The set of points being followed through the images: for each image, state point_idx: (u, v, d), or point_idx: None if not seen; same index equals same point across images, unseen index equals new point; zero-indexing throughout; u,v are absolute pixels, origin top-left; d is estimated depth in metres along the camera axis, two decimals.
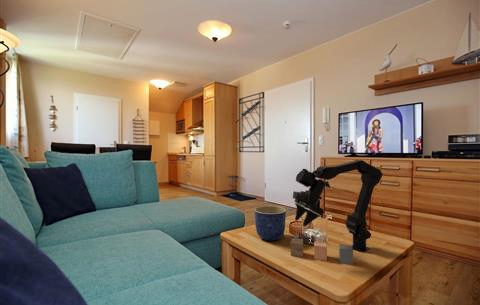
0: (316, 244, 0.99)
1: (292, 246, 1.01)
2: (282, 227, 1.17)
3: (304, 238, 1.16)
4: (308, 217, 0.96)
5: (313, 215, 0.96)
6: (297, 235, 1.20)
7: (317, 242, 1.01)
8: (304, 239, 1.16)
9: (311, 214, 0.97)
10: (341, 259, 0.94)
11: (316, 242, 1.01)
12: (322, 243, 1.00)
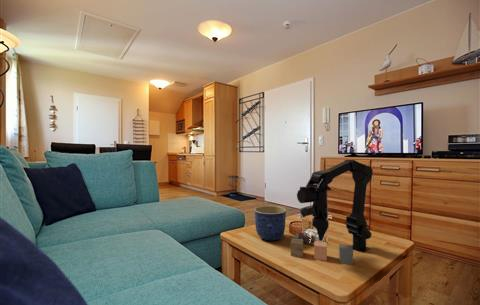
0: (316, 244, 0.99)
1: (292, 246, 1.01)
2: (282, 227, 1.17)
3: (304, 238, 1.16)
4: (319, 231, 0.94)
5: (323, 227, 0.93)
6: (297, 235, 1.21)
7: (317, 242, 1.01)
8: (304, 239, 1.16)
9: (320, 227, 0.94)
10: (341, 259, 0.94)
11: (316, 242, 1.01)
12: (322, 243, 1.00)
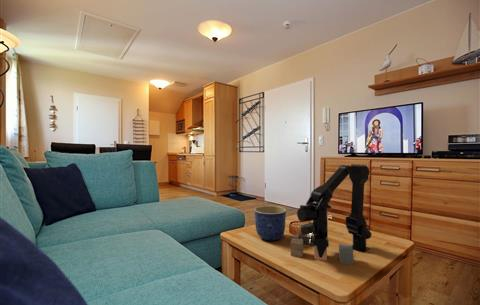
0: None
1: (292, 246, 1.01)
2: (282, 227, 1.17)
3: (304, 238, 1.16)
4: (319, 248, 0.96)
5: None
6: (297, 235, 1.21)
7: None
8: (304, 239, 1.16)
9: None
10: (341, 259, 0.94)
11: None
12: None
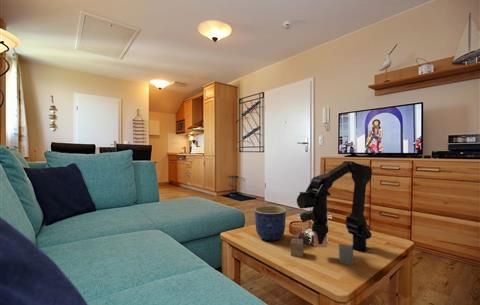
0: None
1: (292, 246, 1.01)
2: (282, 227, 1.17)
3: (304, 238, 1.16)
4: (319, 235, 0.96)
5: None
6: (297, 235, 1.21)
7: None
8: (304, 239, 1.16)
9: (320, 231, 0.96)
10: (341, 259, 0.94)
11: None
12: None
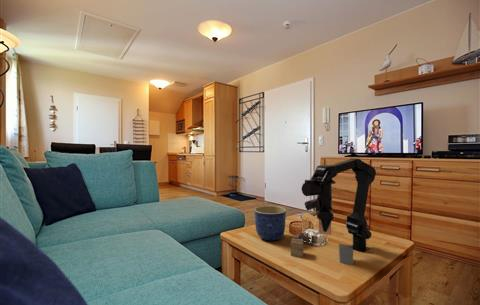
0: None
1: (292, 246, 1.01)
2: (282, 227, 1.17)
3: (304, 238, 1.16)
4: (323, 223, 0.96)
5: (327, 219, 0.96)
6: (298, 235, 1.21)
7: None
8: (304, 239, 1.16)
9: (325, 219, 0.96)
10: (341, 259, 0.94)
11: None
12: None
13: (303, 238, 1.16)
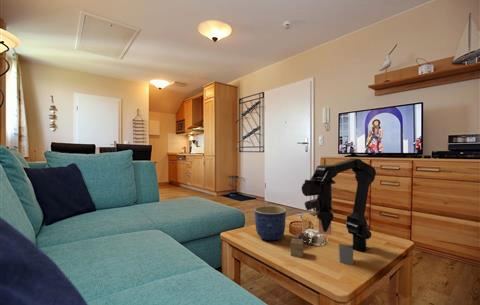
0: None
1: (292, 246, 1.01)
2: (282, 227, 1.17)
3: (304, 238, 1.16)
4: (323, 222, 0.96)
5: (327, 219, 0.96)
6: (298, 234, 1.21)
7: None
8: (304, 239, 1.16)
9: (325, 219, 0.96)
10: (341, 259, 0.94)
11: None
12: None
13: (303, 238, 1.16)
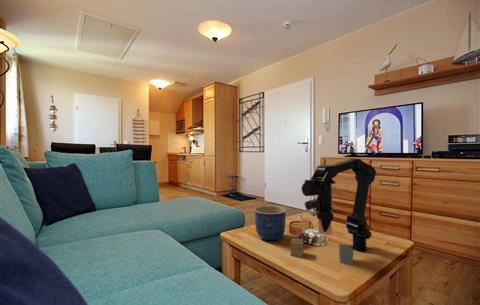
0: None
1: (292, 246, 1.01)
2: (282, 227, 1.17)
3: (304, 238, 1.16)
4: (323, 222, 0.96)
5: (327, 219, 0.96)
6: (298, 234, 1.21)
7: None
8: (304, 239, 1.16)
9: (325, 219, 0.96)
10: (341, 259, 0.94)
11: None
12: None
13: (303, 238, 1.16)
